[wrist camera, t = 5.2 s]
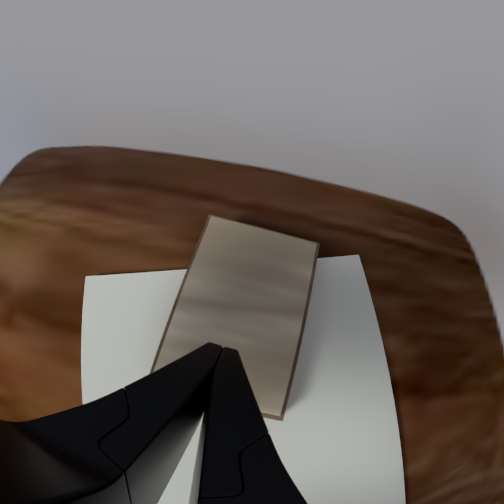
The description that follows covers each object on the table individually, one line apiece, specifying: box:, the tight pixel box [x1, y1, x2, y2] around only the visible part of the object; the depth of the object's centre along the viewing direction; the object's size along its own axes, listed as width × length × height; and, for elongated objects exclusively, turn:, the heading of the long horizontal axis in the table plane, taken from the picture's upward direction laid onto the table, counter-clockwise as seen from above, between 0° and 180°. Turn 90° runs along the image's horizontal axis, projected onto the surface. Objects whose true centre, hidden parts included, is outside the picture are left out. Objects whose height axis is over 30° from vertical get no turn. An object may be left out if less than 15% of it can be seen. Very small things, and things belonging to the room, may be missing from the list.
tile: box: [150, 214, 320, 421], centre depth 14 cm, size 2×6×9 cm
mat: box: [81, 255, 406, 504], centre depth 12 cm, size 18×16×1 cm
